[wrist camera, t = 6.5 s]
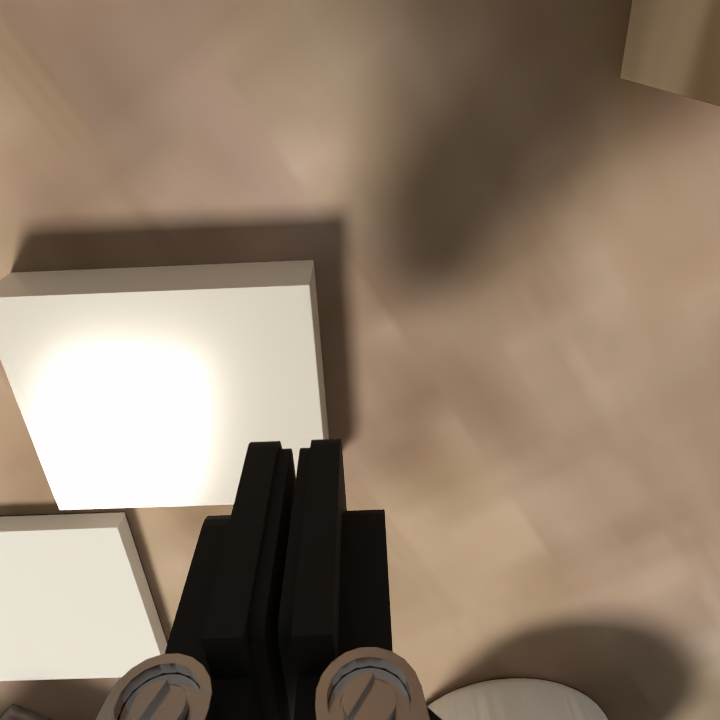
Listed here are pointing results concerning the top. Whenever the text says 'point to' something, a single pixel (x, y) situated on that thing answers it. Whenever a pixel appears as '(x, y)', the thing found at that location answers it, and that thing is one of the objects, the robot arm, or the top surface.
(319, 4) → the top surface
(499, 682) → the ramekin
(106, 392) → the tile
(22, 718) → the book
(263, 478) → the robot arm
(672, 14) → the small cardboard box
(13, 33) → the top surface
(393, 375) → the top surface
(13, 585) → the mat
